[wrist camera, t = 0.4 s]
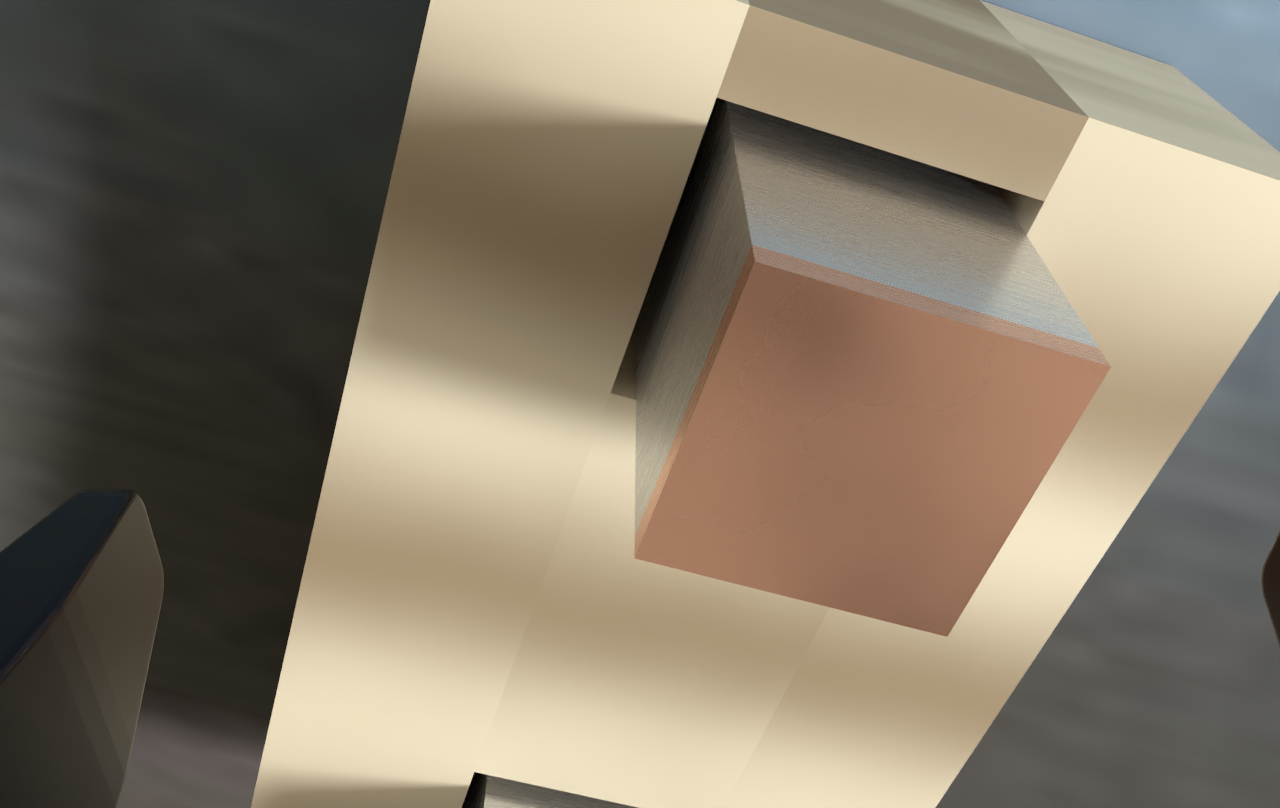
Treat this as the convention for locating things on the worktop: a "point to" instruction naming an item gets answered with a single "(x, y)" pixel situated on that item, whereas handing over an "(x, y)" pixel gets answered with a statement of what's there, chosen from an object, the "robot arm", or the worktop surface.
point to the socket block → (606, 403)
